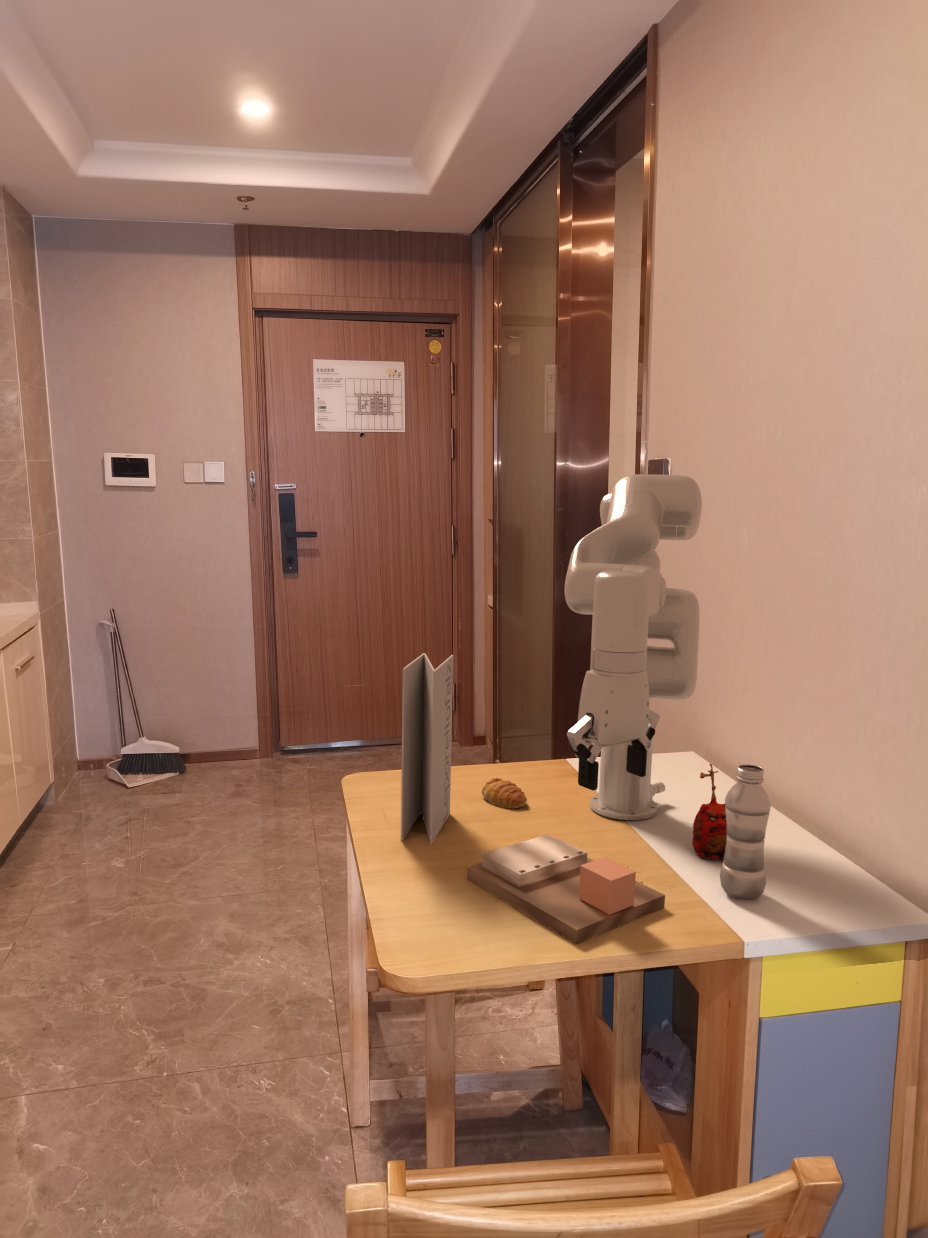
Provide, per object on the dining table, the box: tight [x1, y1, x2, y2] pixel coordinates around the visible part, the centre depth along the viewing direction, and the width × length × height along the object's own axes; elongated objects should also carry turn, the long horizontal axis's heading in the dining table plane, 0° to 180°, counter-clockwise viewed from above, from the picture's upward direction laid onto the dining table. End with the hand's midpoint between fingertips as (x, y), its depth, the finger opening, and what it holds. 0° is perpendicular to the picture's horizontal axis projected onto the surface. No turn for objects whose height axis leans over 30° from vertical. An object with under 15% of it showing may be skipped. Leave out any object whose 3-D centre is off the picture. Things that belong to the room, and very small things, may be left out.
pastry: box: [481, 777, 528, 809], centre depth 174 cm, size 9×7×4 cm
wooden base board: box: [466, 833, 666, 945], centre depth 135 cm, size 18×24×4 cm
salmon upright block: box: [579, 856, 637, 915], centre depth 128 cm, size 5×6×5 cm
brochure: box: [400, 652, 454, 844], centre depth 158 cm, size 14×6×30 cm, turn 168°
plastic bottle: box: [719, 763, 772, 900], centre depth 135 cm, size 6×7×20 cm
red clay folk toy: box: [691, 763, 727, 861], centre depth 150 cm, size 8×7×15 cm
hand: (612, 780), depth 126 cm, fingers open, 9 cm apart
